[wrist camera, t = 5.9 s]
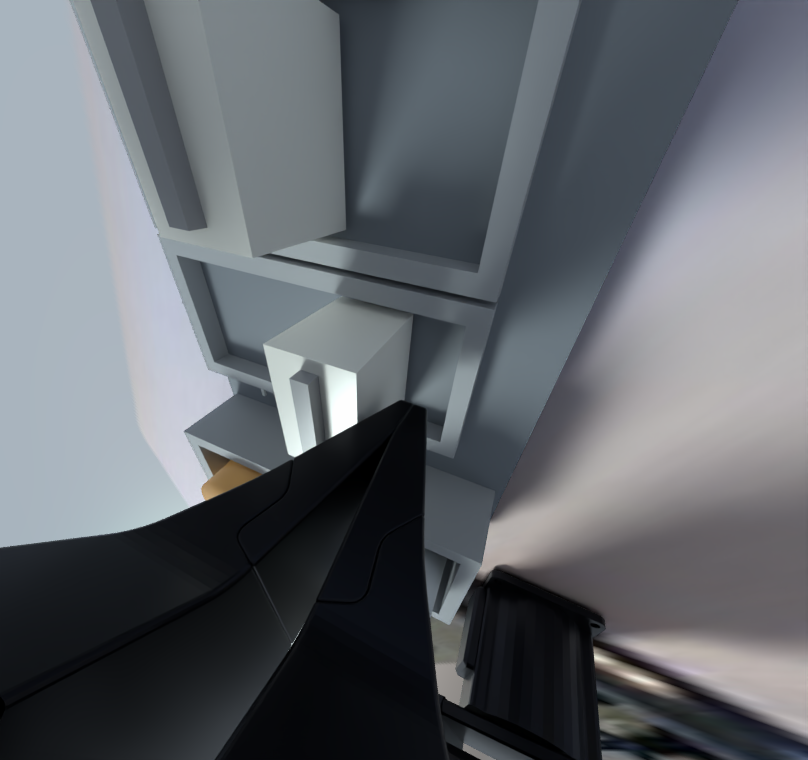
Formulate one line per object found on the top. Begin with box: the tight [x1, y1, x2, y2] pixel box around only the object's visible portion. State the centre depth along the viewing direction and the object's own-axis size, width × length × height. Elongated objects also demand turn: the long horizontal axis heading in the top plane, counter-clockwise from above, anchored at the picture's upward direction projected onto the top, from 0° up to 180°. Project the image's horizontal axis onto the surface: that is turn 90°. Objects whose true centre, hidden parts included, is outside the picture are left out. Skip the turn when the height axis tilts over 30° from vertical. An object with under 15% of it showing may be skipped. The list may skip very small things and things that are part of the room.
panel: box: [70, 0, 738, 625], centre depth 11 cm, size 14×20×5 cm
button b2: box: [201, 460, 262, 500], centre depth 15 cm, size 4×4×3 cm
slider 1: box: [73, 0, 346, 258], centre depth 6 cm, size 2×4×4 cm, turn 175°
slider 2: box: [263, 296, 413, 457], centre depth 9 cm, size 2×4×4 cm, turn 175°
